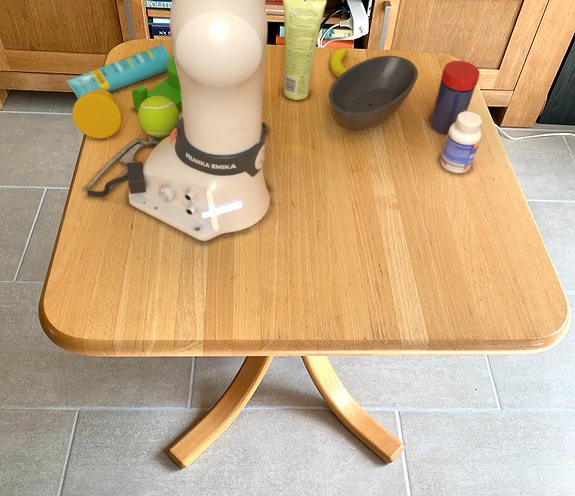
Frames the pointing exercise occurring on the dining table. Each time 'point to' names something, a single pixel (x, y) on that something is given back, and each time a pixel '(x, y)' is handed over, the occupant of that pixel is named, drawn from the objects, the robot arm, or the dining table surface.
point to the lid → (460, 75)
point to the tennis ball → (158, 116)
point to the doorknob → (97, 114)
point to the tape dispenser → (161, 88)
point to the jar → (448, 107)
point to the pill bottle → (462, 142)
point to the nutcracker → (127, 156)
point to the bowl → (371, 91)
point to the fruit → (338, 61)
